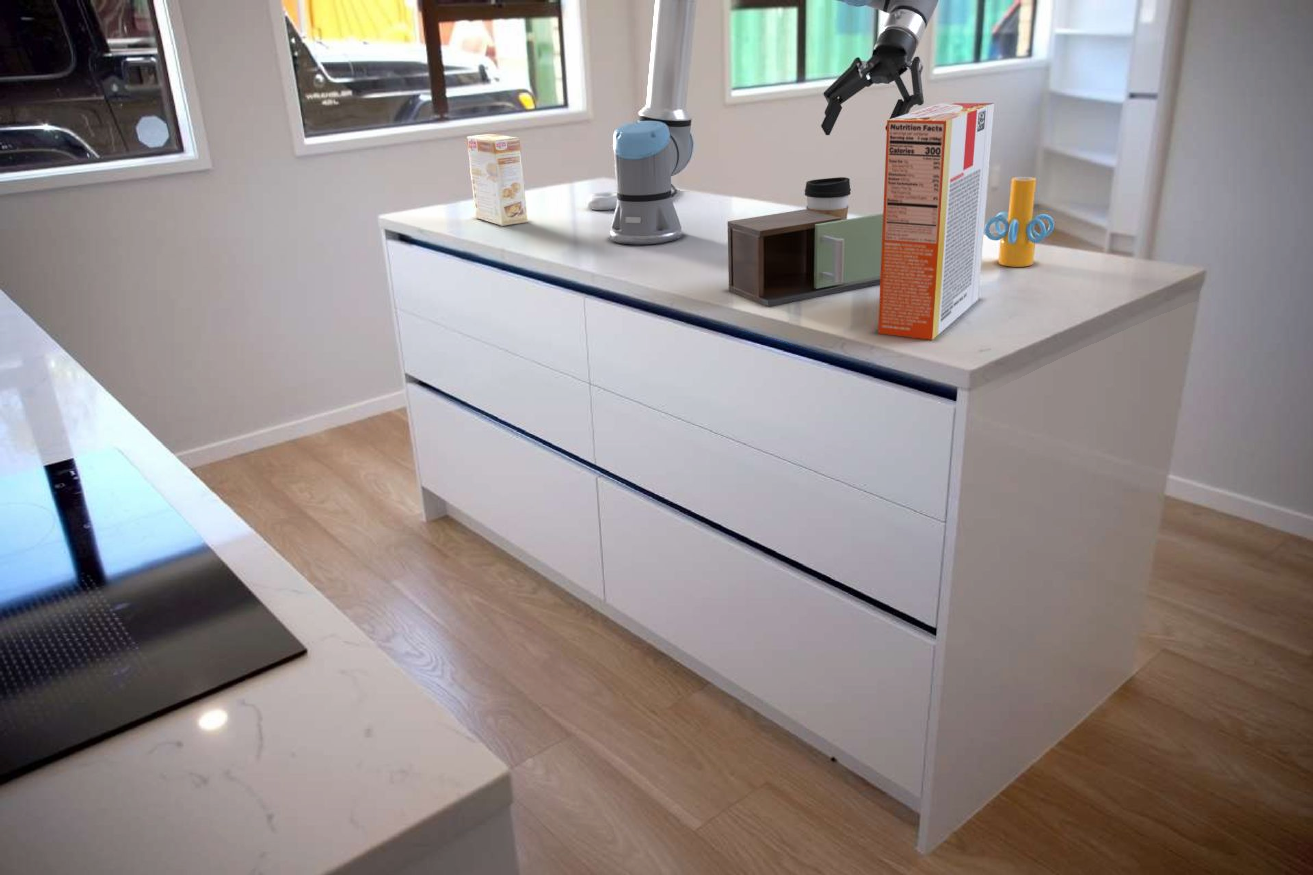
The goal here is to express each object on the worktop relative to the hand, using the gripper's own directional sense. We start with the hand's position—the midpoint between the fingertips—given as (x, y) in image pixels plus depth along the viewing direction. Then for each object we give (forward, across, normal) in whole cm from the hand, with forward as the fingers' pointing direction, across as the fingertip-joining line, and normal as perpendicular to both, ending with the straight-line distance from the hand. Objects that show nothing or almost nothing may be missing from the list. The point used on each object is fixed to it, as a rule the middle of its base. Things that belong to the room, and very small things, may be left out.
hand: (856, 132), depth 186 cm
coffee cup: (+23, 0, +9) cm, 24 cm away
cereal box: (+39, +32, -7) cm, 51 cm away
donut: (+8, -76, +24) cm, 80 cm away
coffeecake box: (+25, -89, +7) cm, 93 cm away
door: (+33, +17, -3) cm, 37 cm away
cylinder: (+13, +31, +19) cm, 38 cm away
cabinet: (+35, +8, -3) cm, 36 cm away
